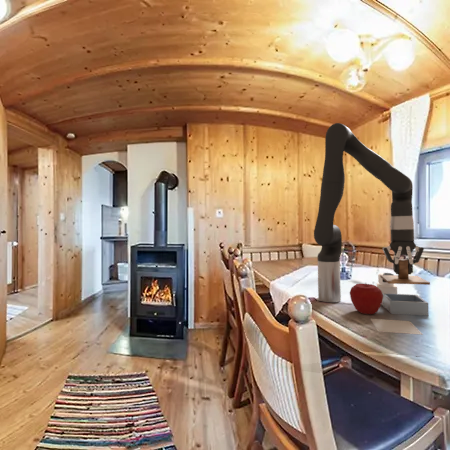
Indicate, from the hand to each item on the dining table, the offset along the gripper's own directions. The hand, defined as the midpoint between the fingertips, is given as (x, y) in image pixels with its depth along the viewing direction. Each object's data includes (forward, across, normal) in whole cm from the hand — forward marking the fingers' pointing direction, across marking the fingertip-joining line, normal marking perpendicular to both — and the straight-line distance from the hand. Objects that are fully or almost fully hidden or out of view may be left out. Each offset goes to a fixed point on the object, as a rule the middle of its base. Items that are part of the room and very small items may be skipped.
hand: (403, 273), depth 110 cm
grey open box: (+14, 0, 0) cm, 14 cm away
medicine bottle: (+14, -3, +13) cm, 20 cm away
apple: (+14, -14, -7) cm, 21 cm away
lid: (+3, 0, 0) cm, 3 cm away
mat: (+14, -8, -20) cm, 26 cm away
